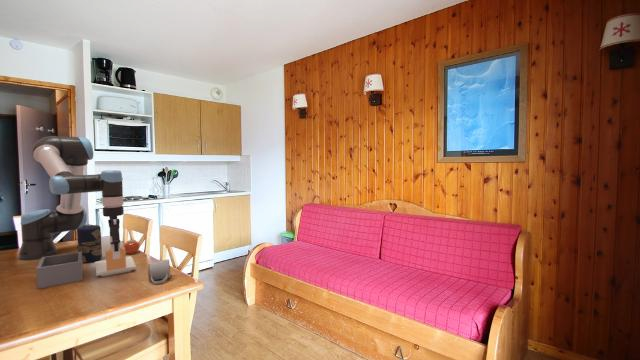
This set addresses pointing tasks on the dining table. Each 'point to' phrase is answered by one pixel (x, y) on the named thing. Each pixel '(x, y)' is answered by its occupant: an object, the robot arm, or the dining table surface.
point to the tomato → (131, 246)
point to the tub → (59, 269)
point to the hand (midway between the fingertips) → (115, 254)
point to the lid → (114, 264)
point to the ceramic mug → (159, 271)
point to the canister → (89, 242)
